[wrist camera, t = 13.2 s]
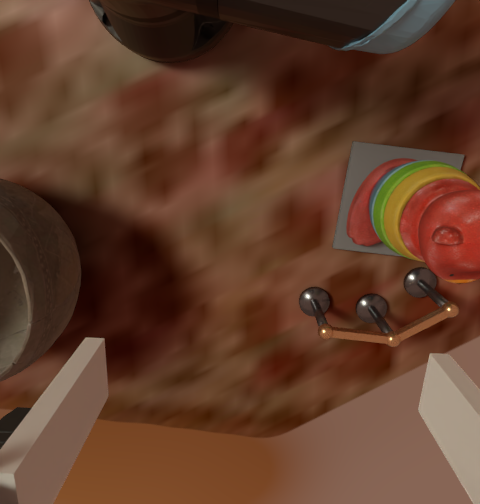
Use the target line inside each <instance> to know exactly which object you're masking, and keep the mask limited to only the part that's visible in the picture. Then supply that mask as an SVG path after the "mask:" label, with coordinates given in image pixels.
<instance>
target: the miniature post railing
mask: <svg viewBox="0 0 480 504" xmlns="http://www.w3.org/2000/svg"><path fill="white" fill-rule="evenodd" d="M436 282H437V281H436V277H435V275H434V274H433V273H432V272H431V271H430V270H429V269H427V268H423V267H418V268H415V269H412V270H411V271H409V272H408V273H407V275H406V276H405V279H404V287H405V289H406V291H407V292H408V293H409V294H410V295H412V296H414V297H425V296H427V295H428V296H429V297H430V298H431V299H432V300H433V301H434V302H435V303H436V304H437V305H438V306H440V307H441V308H439V309H437V310H435V311H434V312H432V313H430V314H428V315H426V316H424V317H422V318H420V319H418V320H416V321H414V322H412V323H410V324H408V325H406V326H404V327H402V328H401V329H399V330H397V331H395V332H394V331H392V329H391V328H390V326H389V325H388V324H387V322H386V321H385V319H384V318H383V317H384V316H385V314H386V312H387V304H386V302H385V301H384V299H383V298H382V297H381V296H379V295H377V294H367V295H364V296H362V297H361V298H360V299H359V300H358V302H357V304H356V312H357V314H358V316H359V318H360V319H361V320H363V321H364V322H368V323H374V322H376V324H377V325H378V327H379V328H380V330H381V331H382V332H373V331H364V330H355V329H347V328H338V327H332V326H331V325H329V324H328V323H327V321H326V318H325V316H324V313H325V312H326V310H327V309H328V307H329V304H330V300H329V297H328V295H327V293H326V292H325V291H324V290H323V289H321V288H319V287H310V288H308V289H306V290H304V291H303V292H302V294H301V295H300V298H299V304H300V308H301V310H302V311H303V312H304V313H305V314H307V315H309V316H315V317H316V320H317V323H318V326H319V328H318V334H319V336H320V337H321V338H323V339H329V338H331V337H333V338H341V339H350V340H359V341H368V342H377V343H385V344H387V345H388V346H391V347H396V346H398V345H399V344H400V342H401V341H402V340H404V339H406V338H408V337H410V336H412V335H414V334H416V333H418V332H420V331H422V330H424V329H426V328H428V327H430V326H432V325H434V324H436V323H438V322H440V321H441V320H443V319H445V318H447V317H455V316H457V315H458V313H459V307H458V305H457V304H456V303H454V302H449V301H448V300H446V299H445V298H444V297H443V296H442V295H441V294H439V293H438V292H437V291H436V290H435V287H436Z"/></svg>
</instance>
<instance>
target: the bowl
mask: <svg viewBox="0 0 480 504" xmlns="http://www.w3.org/2000/svg"><path fill="white" fill-rule="evenodd" d="M80 286H81V264H80V257H79V253H78V249H77V245H76V242H75V239H74V236H73V235H72V233H71V231H70V229H69V227H68V225H67V224H66V223H65V222H64V220H63V219H62V218H61V216H60V215H59V214H58V213H57V212H56V211H55V209H54V208H53V207H52V206H51V205H50V204H49V203H47V202H46V201H45V200H44V199H42V198H41V197H39V196H38V195H36V194H35V193H33V192H31V191H30V190H28V189H26V188H24V187H22V186H20V185H17V184H15V183H12V182H9V181H6V180H3V179H0V381H3V380H5V379H7V378H9V377H11V376H13V375H16V374H17V373H19V372H21V371H22V370H24V369H25V368H27V367H28V366H30V365H31V364H32V363H33V362H35V361H36V360H37V359H38V358H39V357H41V356H42V355H43V354H44V353H45V352H46V351H47V350H48V349H49V348H50V347H51V346H52V345H53V343H54V342H55V341H56V339H57V338H58V337H59V336H60V335H61V334H62V332H63V331H64V329H65V328H66V326H67V325H68V323H69V321H70V319H71V317H72V315H73V312H74V309H75V306H76V303H77V299H78V295H79V289H80Z"/></svg>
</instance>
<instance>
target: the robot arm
mask: <svg viewBox="0 0 480 504" xmlns="http://www.w3.org/2000/svg"><path fill="white" fill-rule="evenodd" d="M89 1H90V4H91V6H92V8H93V10H94V12H95V14H96V15H97V17H98V19H99V20H100V22H101V23H102V24H103V26H104V27H105V28H106V30H107V31H108V32H109V33H110V34H111V35H112V36H113V37H114V38H115V39H116V40H117V41H119V42H120V43H121V44H122V45H124V46H125V47H127V48H128V49H130V50H131V51H133V52H134V53H136V54H138V55H140V56H142V57H144V58H147V59H150V60H154V61H158V62H167V63H174V62H182V61H187V60H190V59H193V58H196V57H198V56H200V55H202V54H204V53H206V52H207V51H209V50H210V49H211V48H213V47H214V46H215V45H216V44H217V43H218V42H219V41H220V40H221V39H222V38H223V37H224V36H225V34H226V33H227V32H228V30H229V29H230V27H231V26H232V24H233V23H236V24H240V25H244V26H249V27H253V28H257V29H261V30H265V31H270V32H274V33H278V34H282V35H287V36H291V37H295V38H299V39H303V40H308V41H312V42H316V43H320V44H324V45H328V46H329V47H331V48H333V49H335V50H343V51H347V50H359V51H365V52H370V53H376V54H388V53H394V52H397V51H400V50H402V49H404V48H406V47H408V46H410V45H411V44H413V43H415V42H416V41H417V40H418V39H420V38H421V37H422V36H423V35H425V34H426V33H427V32H428V31H429V30H430V29H431V28H432V27H433V26H434V25H435V24H436V23H437V22H438V21H439V20H440V19H441V17H442V16H443V15H444V14H445V13H446V12H447V10H448V9H449V8H450V7H451V5H452V4H453V3H454V1H455V0H89ZM107 398H108V381H107V367H106V352H105V338H88V337H86V338H85V339H84V340H83V342H82V343H81V344H80V345H79V347H78V348H77V349H76V351H75V352H74V353H73V355H72V356H71V357H70V359H69V360H68V361H67V363H66V364H65V365H64V366H63V368H62V369H61V370H60V372H59V373H58V374H57V376H56V377H55V378H54V380H53V381H52V382H51V384H50V385H49V386H48V387H47V389H46V390H45V391H44V393H43V394H42V395H41V397H40V398H39V399H38V401H37V402H36V403H35V405H34V406H33V407H32V408H20V407H17V408H16V409H14V410H13V411H12V412H10V413H8V414H7V415H6V416H4V417H3V418H2V419H1V420H0V504H53V503H54V501H55V499H56V497H57V495H58V493H59V491H60V489H61V487H62V485H63V483H64V481H65V479H66V477H67V476H68V474H69V472H70V470H71V467H72V466H73V464H74V462H75V460H76V458H77V456H78V454H79V452H80V450H81V448H82V446H83V444H84V443H85V440H86V438H87V437H88V435H89V433H90V431H91V429H92V427H93V425H94V423H95V421H96V419H97V417H98V415H99V413H100V411H101V409H102V408H103V406H104V404H105V402H106V400H107ZM418 411H419V413H420V414H421V416H422V418H423V420H424V421H425V423H426V425H427V426H428V428H429V430H430V431H431V433H432V435H433V437H434V438H435V440H436V442H437V443H438V445H439V447H440V448H441V450H442V452H443V454H444V455H445V457H446V459H447V460H448V462H449V464H450V465H451V467H452V469H453V470H454V472H455V474H456V475H457V477H458V479H459V480H460V482H461V484H462V486H463V487H464V489H465V491H466V492H467V494H468V496H469V498H470V499H471V501H472V503H473V504H480V389H479V388H478V387H477V386H476V385H475V384H474V382H473V381H472V380H471V379H470V378H469V377H468V375H467V374H466V373H465V372H464V371H463V370H462V369H461V367H460V366H459V365H458V364H457V363H456V362H455V360H454V359H453V358H452V357H451V356H450V355H449V354H436V353H430V355H429V360H428V365H427V370H426V374H425V379H424V384H423V389H422V394H421V398H420V403H419V408H418Z"/></svg>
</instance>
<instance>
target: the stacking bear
mask: <svg viewBox="0 0 480 504" xmlns="http://www.w3.org/2000/svg"><path fill="white" fill-rule="evenodd" d="M346 230H347V235H348V237H350V238H352V241H353V243H355V244H357V245H364V246H371V245H374V244H376V243H379V242H381V241H382V242H383V243H384V244H385V245H386V246H387V247H388V248H389V249H390V250H392V251H393V252H395V253H397V254H399V255H401V256H403V257H406V258H409V259H413V260H417V261H421V262H425V263H426V264H427V266H428V267H429V269H430V270H431V271H432V272H433V273H434V274H435V275H437V276H438V277H440V278H442V279H444V280H446V281H448V282H452V283H457V284H461V283H468V282H472V281H474V280H477V279H480V187H479V186H478V185H477V184H476V183H475V182H474V181H473V180H472V179H471V178H470V177H468V176H467V175H466V174H465V173H464V172H462V171H461V170H459V169H457V168H455V167H454V166H451V165H449V164H446V163H443V162H439V161H433V160H420V161H418V160H415V159H410V158H398V159H393V160H390V161H387V162H385V163H383V164H381V165H379V166H378V167H376V168H375V169H374V170H373V171H372V172H371V173H370V174H369V175H368V176H367V177H366V179H365V180H364V181H363V182H362V184H361V185H360V187H359V188H358V190H357V192H356V194H355V196H354V198H353V200H352V203H351V205H350V208H349V212H348V217H347V226H346Z"/></svg>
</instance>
